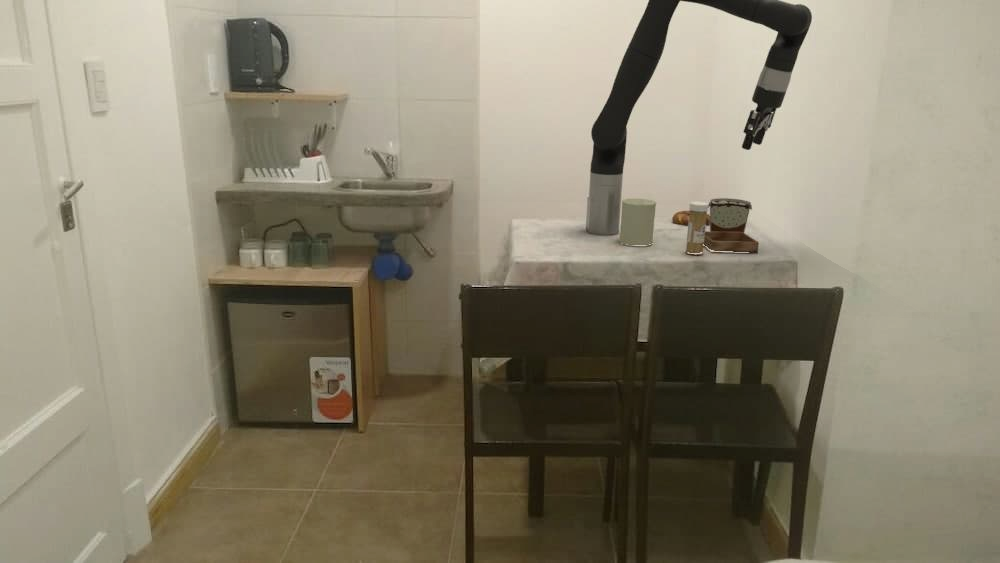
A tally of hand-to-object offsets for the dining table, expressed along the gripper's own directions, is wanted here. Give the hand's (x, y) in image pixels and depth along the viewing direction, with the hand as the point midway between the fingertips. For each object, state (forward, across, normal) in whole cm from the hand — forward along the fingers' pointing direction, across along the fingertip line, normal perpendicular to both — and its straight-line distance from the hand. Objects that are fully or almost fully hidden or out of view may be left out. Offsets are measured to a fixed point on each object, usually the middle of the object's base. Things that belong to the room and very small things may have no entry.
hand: (751, 146), depth 195 cm
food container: (+29, -7, -1) cm, 30 cm away
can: (+30, +21, -16) cm, 40 cm away
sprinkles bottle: (+26, +22, +1) cm, 34 cm away
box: (+26, +9, +5) cm, 28 cm away
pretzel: (+33, -14, -14) cm, 38 cm away
